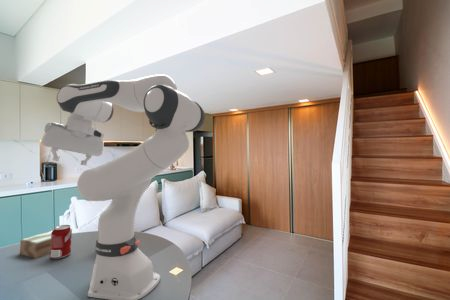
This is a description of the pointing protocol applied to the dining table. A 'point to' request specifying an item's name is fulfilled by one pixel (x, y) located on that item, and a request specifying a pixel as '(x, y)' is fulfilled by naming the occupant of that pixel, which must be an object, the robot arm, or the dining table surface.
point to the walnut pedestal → (36, 245)
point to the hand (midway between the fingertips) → (70, 163)
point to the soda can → (61, 241)
